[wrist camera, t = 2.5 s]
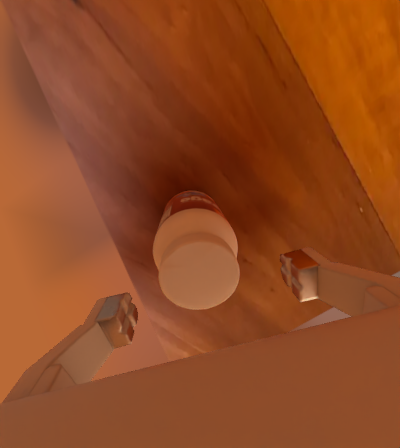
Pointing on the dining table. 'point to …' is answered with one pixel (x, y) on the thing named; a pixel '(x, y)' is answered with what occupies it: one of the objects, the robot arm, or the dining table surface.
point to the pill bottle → (195, 252)
